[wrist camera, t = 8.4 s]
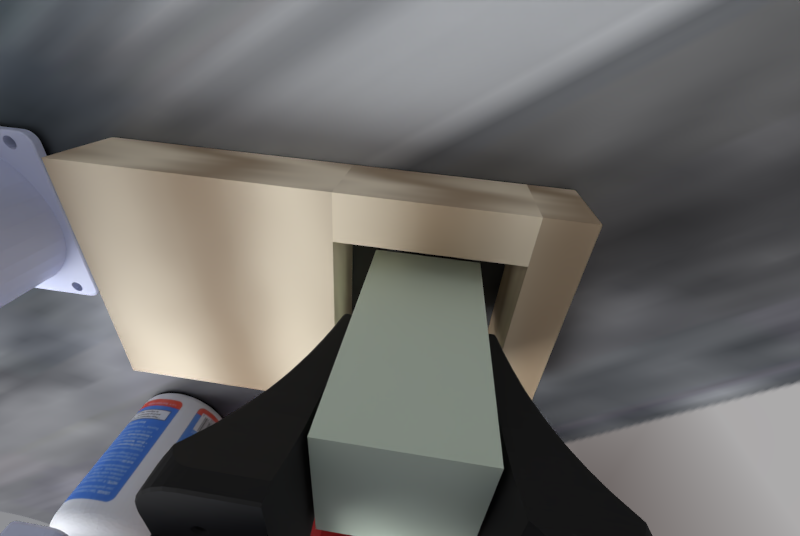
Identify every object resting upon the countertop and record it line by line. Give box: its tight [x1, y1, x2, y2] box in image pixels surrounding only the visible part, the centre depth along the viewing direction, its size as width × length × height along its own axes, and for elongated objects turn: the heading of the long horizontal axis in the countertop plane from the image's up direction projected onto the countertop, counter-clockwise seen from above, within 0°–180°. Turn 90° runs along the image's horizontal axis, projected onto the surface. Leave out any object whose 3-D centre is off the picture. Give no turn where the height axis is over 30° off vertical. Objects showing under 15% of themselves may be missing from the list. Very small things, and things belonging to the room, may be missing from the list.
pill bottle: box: [50, 393, 222, 536], centre depth 20 cm, size 6×5×10 cm
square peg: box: [307, 250, 504, 536], centre depth 12 cm, size 4×4×8 cm
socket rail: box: [42, 137, 602, 400], centre depth 16 cm, size 18×10×3 cm, turn 86°
